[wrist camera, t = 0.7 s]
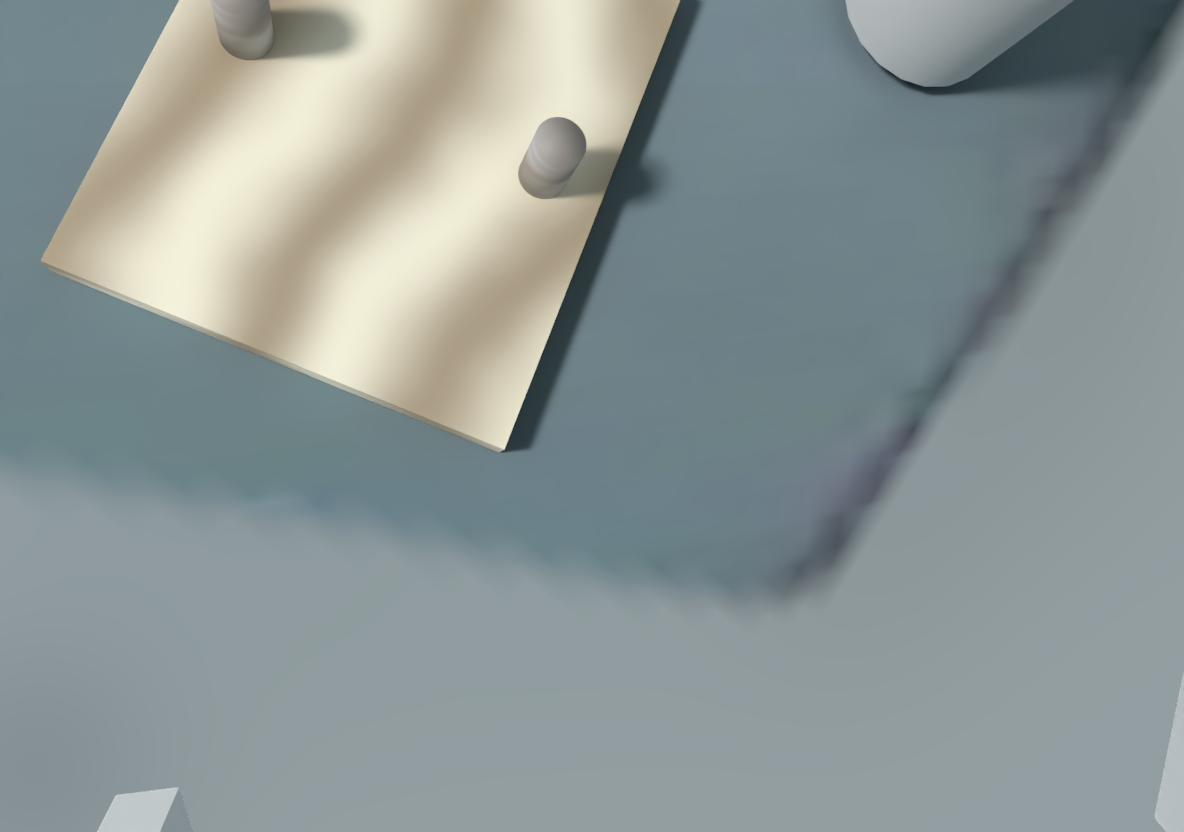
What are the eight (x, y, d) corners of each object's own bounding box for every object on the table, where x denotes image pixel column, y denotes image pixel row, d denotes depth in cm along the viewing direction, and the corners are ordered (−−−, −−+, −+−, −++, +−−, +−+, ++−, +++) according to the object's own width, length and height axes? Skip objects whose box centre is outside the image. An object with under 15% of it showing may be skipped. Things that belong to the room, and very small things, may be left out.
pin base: (51, 271, 31) (8, 230, 27) (299, -197, 35) (294, -293, 31) (498, 452, 34) (520, 440, 30) (675, 2, 38) (714, -61, 34)
